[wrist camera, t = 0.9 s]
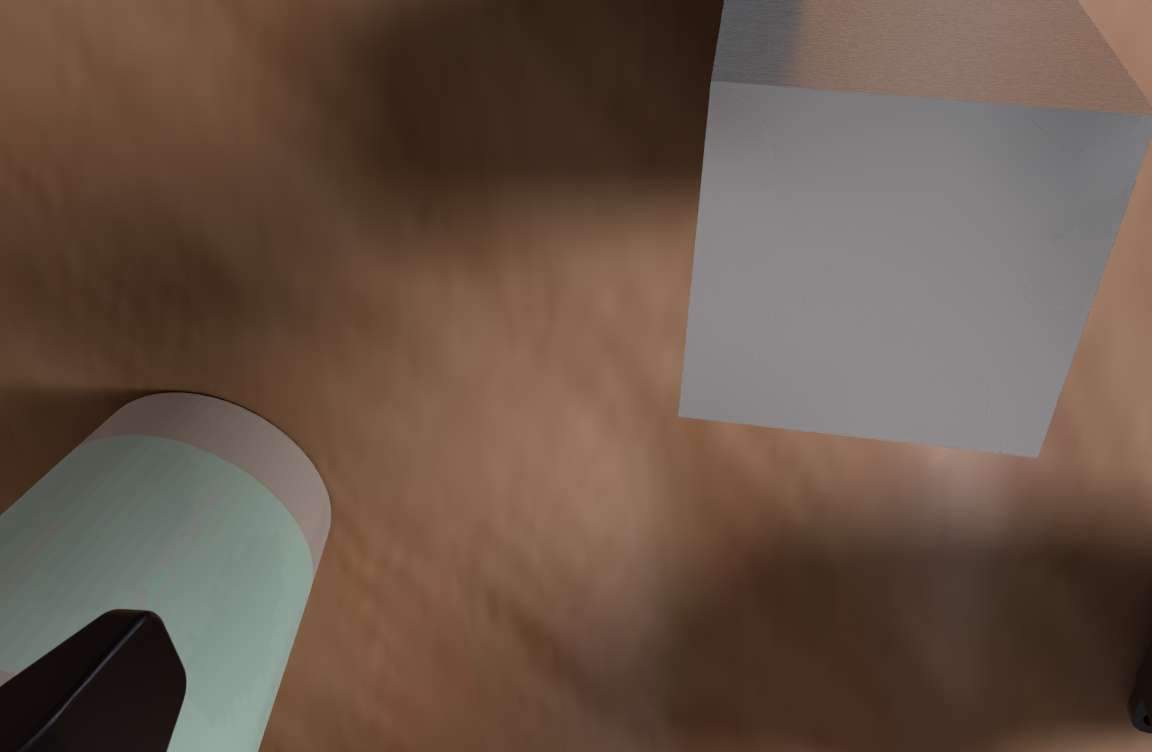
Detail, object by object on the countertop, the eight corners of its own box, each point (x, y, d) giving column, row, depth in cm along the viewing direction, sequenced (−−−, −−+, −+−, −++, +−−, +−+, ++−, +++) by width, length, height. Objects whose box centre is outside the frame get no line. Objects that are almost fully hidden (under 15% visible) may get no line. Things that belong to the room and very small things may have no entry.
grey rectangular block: (1012, -92, 16) (1160, 116, 10) (952, 157, 18) (1037, 457, 12) (742, -108, 17) (710, 80, 10) (716, 138, 19) (678, 416, 13)
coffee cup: (-28, 404, 26) (-516, 887, 16) (245, 288, 22) (-164, 808, 13) (194, 639, 30) (-93, 1139, 20) (454, 569, 26) (261, 1128, 17)
